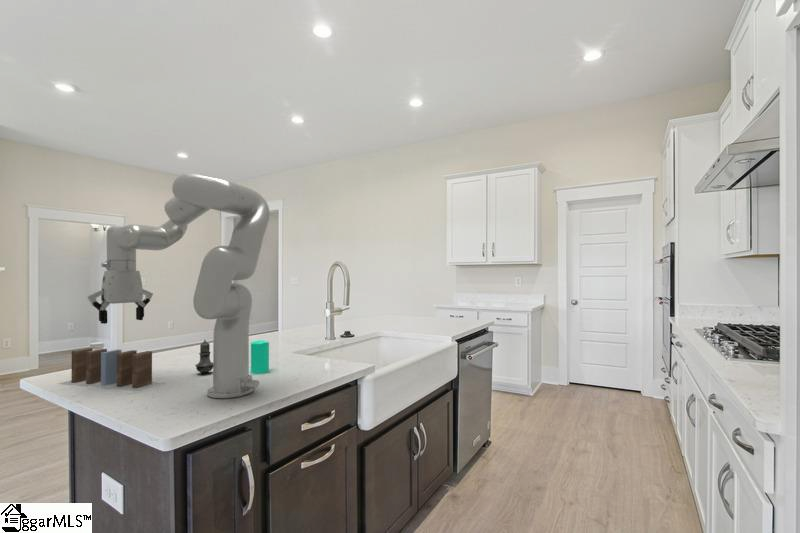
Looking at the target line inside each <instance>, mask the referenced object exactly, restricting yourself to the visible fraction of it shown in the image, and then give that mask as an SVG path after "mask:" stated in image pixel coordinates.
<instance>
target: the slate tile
mask: <svg viewBox="0 0 800 533" xmlns="http://www.w3.org/2000/svg"><path fill="white" fill-rule="evenodd" d="M117 353H122V349H112V350H107V352H102V353H101V385H103V386H106V385H110V384H113V383H117Z"/></svg>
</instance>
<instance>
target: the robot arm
mask: <svg viewBox="0 0 800 533" xmlns="http://www.w3.org/2000/svg"><path fill="white" fill-rule="evenodd" d="M171 188H172V189H171V190H172V194H173V195H174V196H173V197H172V198H170V199H169V200H167V201H166V202H165V204H164V206H163V207H164V212H165V214H166V215H167V218H169V219H168V221H166V222H164V223H162V224H161V225H159V226H151V225H146V224H145V225H143V224H138V223H137V224H135V223H134V224H133V223H132V224H128V225H124V226H119V225H118V226H110V227H108V228H107V229H106V260H105V262H101V264H100V265H101V268H105V270H104V273H103V276H102V282H101V290H98V291H96V292H94V293H92V294H90V295H88V296H87V300H88V301H89V302H90V304H91V306H92V307H94V308H95V309H96V310H97V311H98V321H99V322H100V324H104V325H106V324H108V310H106V309H107V307H109V305H110V304H112V305H113V304H114V305H115V304H126V303H134V304H135V305H137V306H136V308H135V319H136V320H137V321H144V320H143V319H144V317H145V307H147V305H148V304H149V303H150V301H151V300H152V297H153V296H154V293H153V292H151V291H149V290H146V289H144V288H143V283H142V277H141V272H140V270H137V250H141V251H143V250H144V251H145V250H146V251H163V250H166V249H168V248H170V247H171V246H173V245H174V244H175V243H177V242H178V241H180V240H181V239H182V238H183V237H184V235H185V233H186V231H187V230H188V225H189V224H190V223H192V222H193V221H195V220H197V219H198V218H200V217H201V216H203V215H204V214H206V213H207V212H208V211H210V210H214V211H218V212H223V213H228V214H232V215H237V216H239V217H240V220H238V222H237V223H236V224H235V226H234V228H233V230H232V233H231V238H230V240H229V243H228V245H217V246H215V247H213V248H211V249H210V250H209V251H208V252H207V253H206V255H205V256H204V258H203V260H202V264H201V266H200V270H199V274H198V278H197V282H196V285H195V290H194V292H193V293H194V294H193V299H192V300H193V304H192V305H193V308H194V311H195V313H196V314H197V315H198V316H199V317H201V318H202V319H205V320H215V323H214V328H213V334H212V335H213V336H212V337H213V339H212V341H213V346H212V348H213V349H212V350H213V352H212V354H213V355H212V358H213V360H212V361H213V362H212V363H213V369H212V376H213V377H212V386H211V387H210V388H208V389H207V392H206V393H207V395H206V396H208V397H210V398H213V399H231V398H233V399H234V398H237V397H243V396H246V395H248V394H251V393H253V392H254V391H255V390H257V389H258V387H259V385H260V380H255V379H253V374H249V371H250V370H249V368H250V367H249V364H250V362H249V357H250V356H249V354H250V353H249V352H250V351H249V349H250V348H249V346H250V345H249V344H250V340H249V339H250V338H249V337H250V320H251V319H250V317H251V312H252V306H253V298H252V296H253V295H252V293H251V291H250V290H249V289H248V287H246V286H244V285H243V284H242V283H241V284H240V283H235V282H234V283H233V281H244V280H248V279H250V278H251V277H252V276H253V275H254V274H255V272H256V268H257V265H258V262H259V258H260V255H261V254H260V253H261V250H262V245H263V240H264V237H265V233H266V230H267V228H268V224H269V221H270V214H271V213H270V209H269V208H270V207H269V204H268V203H267V202H268V201H266V199H265V198H264V197H263V196H262V195H261V194H260V193H258V192H257V191H255V190H253V189H251V188H249V187H247V186H245V185H242V184H238V183H235V182H232V181H229V180H226V179H223V178H222V179H221V178H216V177H212V176H211V177H210V176H206V175H202V174H196V173H193V172H186V173H182V174H180V175H178V176H177V177H176V179H174V180H173V183H172V186H171ZM144 296H145V298H144ZM99 297H100V300H101V302H99V301H97V298H99ZM143 298H144V299H143Z"/></svg>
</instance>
